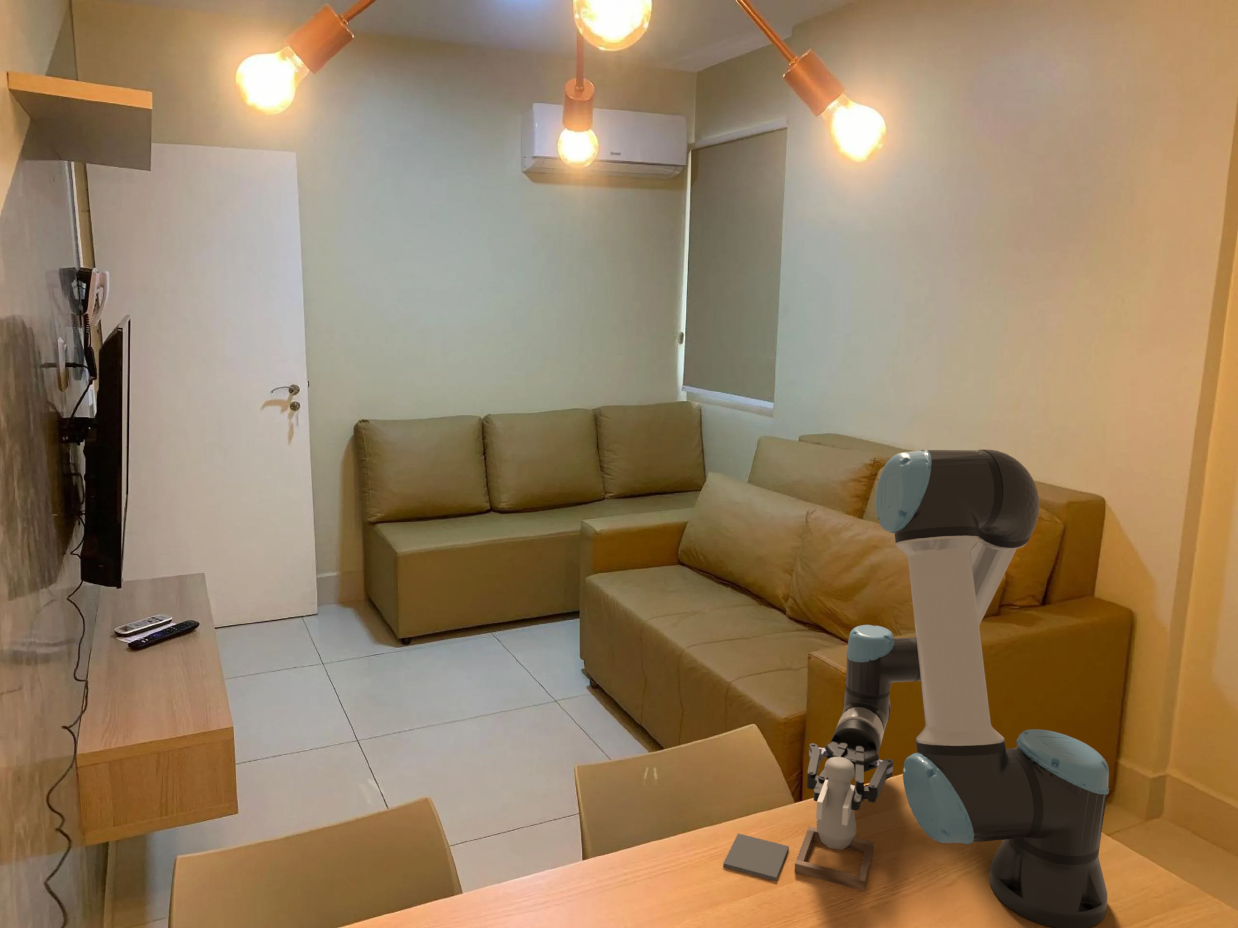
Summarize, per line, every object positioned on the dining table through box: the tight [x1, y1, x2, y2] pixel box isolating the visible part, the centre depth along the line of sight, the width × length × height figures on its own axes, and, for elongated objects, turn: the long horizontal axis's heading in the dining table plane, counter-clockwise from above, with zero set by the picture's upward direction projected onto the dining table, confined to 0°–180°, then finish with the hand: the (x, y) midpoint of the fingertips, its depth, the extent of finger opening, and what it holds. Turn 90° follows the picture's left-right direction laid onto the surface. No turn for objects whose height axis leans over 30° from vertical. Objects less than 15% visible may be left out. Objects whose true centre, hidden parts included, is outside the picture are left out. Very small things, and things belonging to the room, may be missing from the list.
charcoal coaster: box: [723, 833, 790, 882], centre depth 136 cm, size 8×8×1 cm
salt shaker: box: [816, 757, 857, 850], centre depth 134 cm, size 6×6×13 cm
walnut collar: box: [794, 825, 875, 891], centre depth 136 cm, size 10×10×2 cm
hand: (832, 813), depth 129 cm, fingers closed on salt shaker, 3 cm apart
